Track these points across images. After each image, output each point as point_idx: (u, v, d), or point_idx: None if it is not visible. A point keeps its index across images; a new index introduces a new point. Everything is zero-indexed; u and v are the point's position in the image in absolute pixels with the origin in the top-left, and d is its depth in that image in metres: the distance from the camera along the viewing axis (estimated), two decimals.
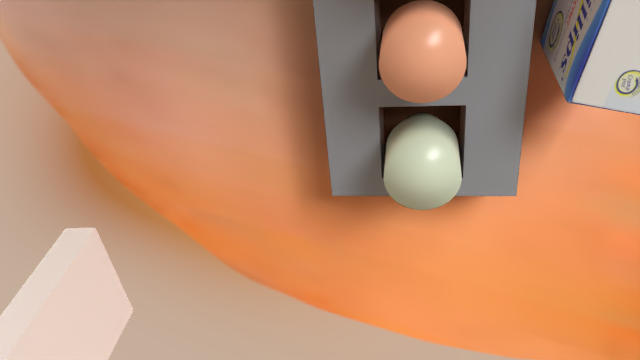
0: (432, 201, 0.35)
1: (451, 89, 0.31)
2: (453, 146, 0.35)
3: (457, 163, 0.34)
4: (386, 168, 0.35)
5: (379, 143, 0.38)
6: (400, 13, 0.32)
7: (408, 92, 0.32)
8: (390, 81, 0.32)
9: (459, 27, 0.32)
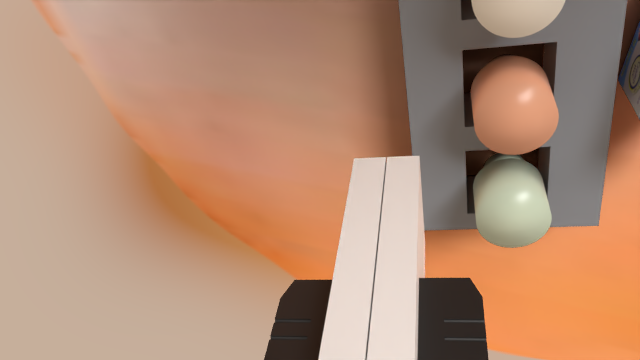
0: (522, 239, 0.38)
1: (543, 142, 0.33)
2: (541, 188, 0.37)
3: (547, 205, 0.36)
4: (479, 212, 0.37)
5: (465, 182, 0.41)
6: (491, 71, 0.34)
7: (501, 145, 0.34)
8: (484, 137, 0.34)
9: (548, 82, 0.34)
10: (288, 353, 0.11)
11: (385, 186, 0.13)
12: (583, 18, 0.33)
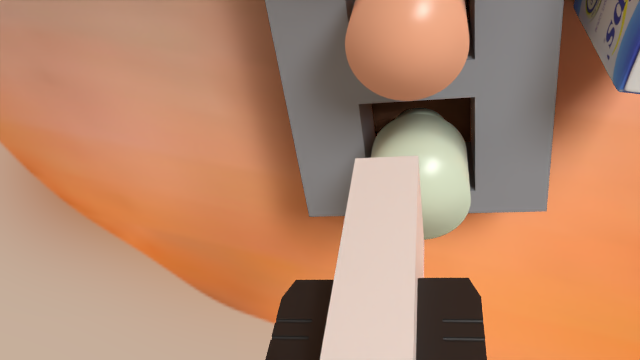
0: (433, 228, 0.26)
1: (450, 80, 0.22)
2: (458, 154, 0.26)
3: (464, 179, 0.25)
4: None
5: (363, 150, 0.29)
6: None
7: (390, 86, 0.23)
8: (363, 72, 0.23)
9: None
10: (289, 353, 0.11)
11: (384, 186, 0.13)
12: None
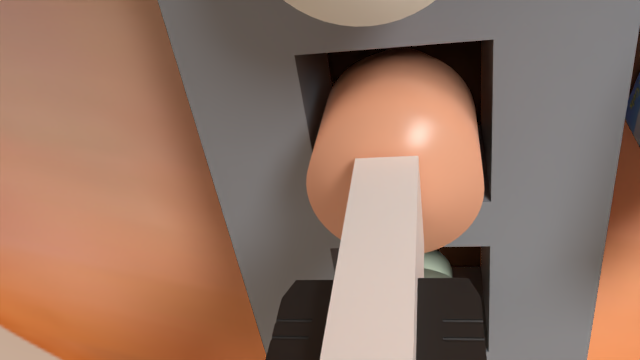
0: None
1: (455, 234, 0.16)
2: None
3: None
4: None
5: None
6: (349, 82, 0.16)
7: None
8: (333, 220, 0.16)
9: (468, 106, 0.16)
10: (289, 353, 0.11)
11: (384, 186, 0.13)
12: None
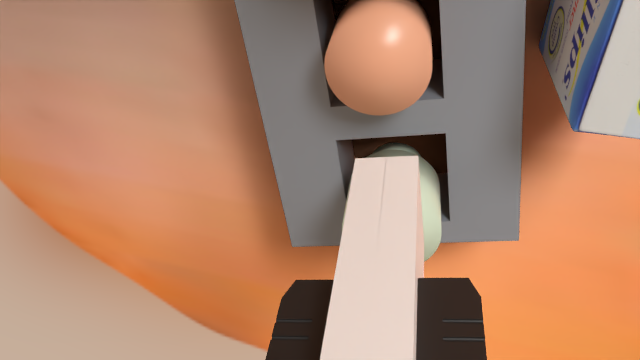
0: None
1: (417, 96, 0.25)
2: (429, 189, 0.27)
3: (434, 212, 0.26)
4: None
5: (342, 183, 0.31)
6: (350, 6, 0.26)
7: (364, 103, 0.26)
8: (341, 91, 0.26)
9: (424, 19, 0.26)
10: (289, 353, 0.11)
11: (384, 186, 0.13)
12: None
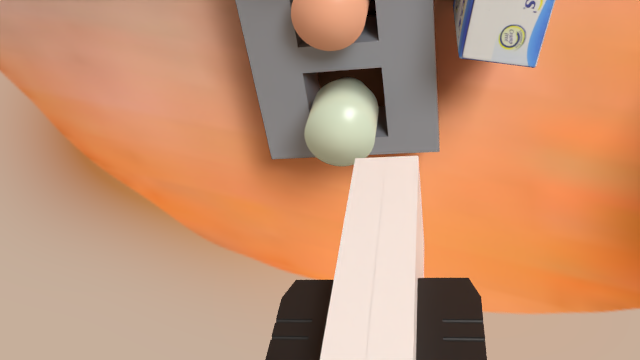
0: (351, 157, 0.38)
1: (356, 37, 0.36)
2: (367, 105, 0.38)
3: (369, 120, 0.37)
4: (306, 128, 0.38)
5: (308, 107, 0.41)
6: None
7: (320, 41, 0.36)
8: (303, 33, 0.36)
9: None
10: (289, 353, 0.11)
11: (384, 186, 0.13)
12: None
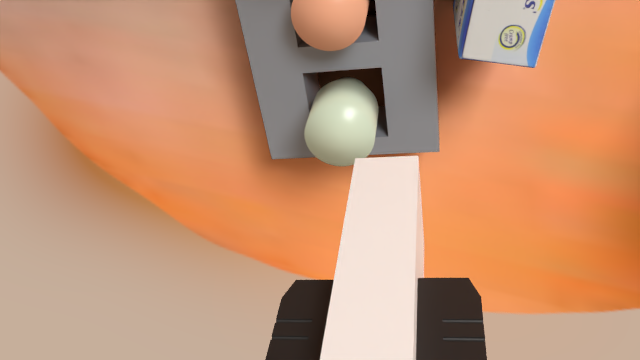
0: (351, 157, 0.38)
1: (356, 37, 0.36)
2: (367, 105, 0.38)
3: (368, 120, 0.37)
4: (305, 128, 0.38)
5: (308, 107, 0.41)
6: None
7: (320, 41, 0.36)
8: (303, 33, 0.36)
9: None
10: (289, 353, 0.11)
11: (384, 186, 0.13)
12: None
